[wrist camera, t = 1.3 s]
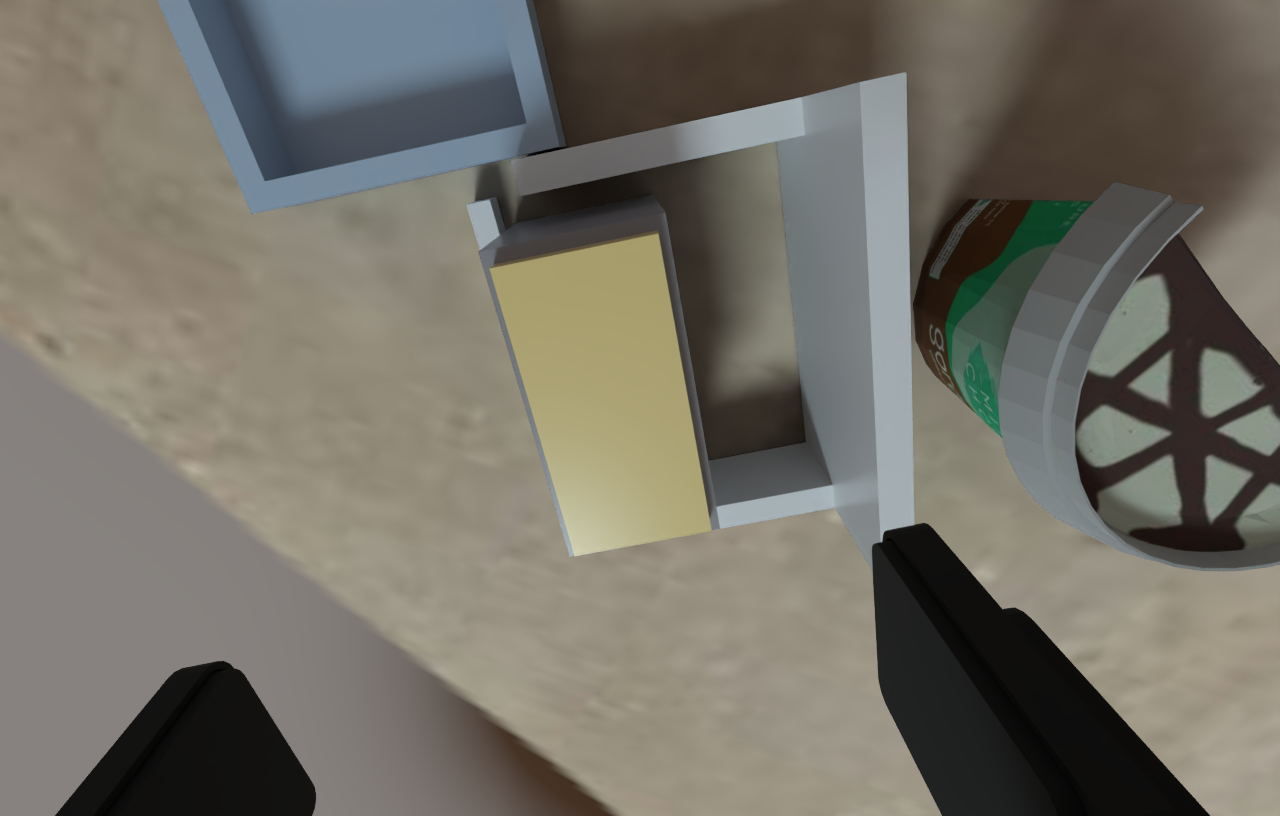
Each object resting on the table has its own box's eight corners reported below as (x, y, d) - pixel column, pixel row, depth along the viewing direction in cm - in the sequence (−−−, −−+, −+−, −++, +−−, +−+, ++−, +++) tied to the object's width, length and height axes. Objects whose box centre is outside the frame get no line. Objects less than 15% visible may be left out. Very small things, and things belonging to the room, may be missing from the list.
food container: (814, 297, 23) (943, 397, 14) (944, 168, 21) (1190, 186, 12) (997, 481, 27) (1196, 658, 17) (1121, 384, 25) (1414, 523, 16)
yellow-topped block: (652, 193, 21) (667, 214, 15) (696, 440, 25) (723, 539, 19) (515, 222, 22) (473, 255, 15) (580, 462, 26) (568, 567, 19)
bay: (802, 98, 20) (906, 71, 13) (830, 458, 26) (915, 582, 19) (465, 171, 21) (382, 186, 14) (564, 508, 26) (544, 647, 19)
